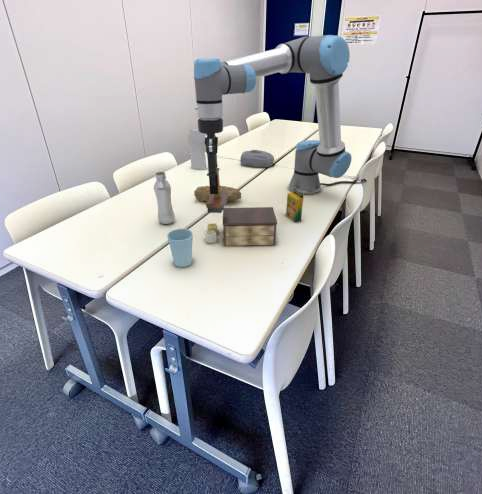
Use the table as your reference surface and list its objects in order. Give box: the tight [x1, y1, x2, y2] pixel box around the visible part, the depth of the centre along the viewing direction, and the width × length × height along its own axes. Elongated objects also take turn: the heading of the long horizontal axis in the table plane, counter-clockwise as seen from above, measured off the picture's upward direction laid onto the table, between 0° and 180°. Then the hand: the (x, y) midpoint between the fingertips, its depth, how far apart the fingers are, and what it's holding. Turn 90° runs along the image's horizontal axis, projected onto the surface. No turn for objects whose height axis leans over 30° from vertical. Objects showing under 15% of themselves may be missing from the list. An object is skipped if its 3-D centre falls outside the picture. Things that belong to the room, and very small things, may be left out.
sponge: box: [193, 185, 242, 203], centre depth 144 cm, size 13×8×20 cm
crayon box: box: [285, 188, 304, 223], centre depth 128 cm, size 7×3×12 cm, turn 23°
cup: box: [166, 228, 194, 268], centre depth 101 cm, size 8×8×10 cm
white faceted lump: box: [204, 230, 217, 244], centre depth 114 cm, size 4×4×3 cm
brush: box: [205, 166, 228, 214], centre depth 107 cm, size 5×11×13 cm, turn 170°
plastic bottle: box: [153, 171, 176, 225], centre depth 123 cm, size 6×7×20 cm
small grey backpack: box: [239, 149, 275, 168], centre depth 191 cm, size 15×8×20 cm
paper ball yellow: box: [206, 222, 218, 235], centre depth 119 cm, size 4×4×3 cm
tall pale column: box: [187, 128, 207, 171], centre depth 181 cm, size 11×4×22 cm, turn 68°
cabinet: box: [222, 206, 278, 247], centre depth 115 cm, size 18×14×9 cm
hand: (214, 191), depth 108 cm, fingers closed on brush, 2 cm apart
